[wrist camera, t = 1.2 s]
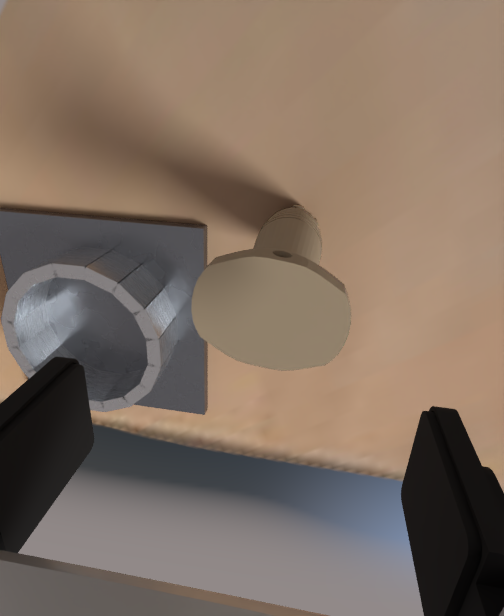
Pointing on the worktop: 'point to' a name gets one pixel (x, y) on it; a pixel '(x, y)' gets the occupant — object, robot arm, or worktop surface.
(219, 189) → the worktop surface
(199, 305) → the handle
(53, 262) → the duct collar
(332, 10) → the worktop surface
